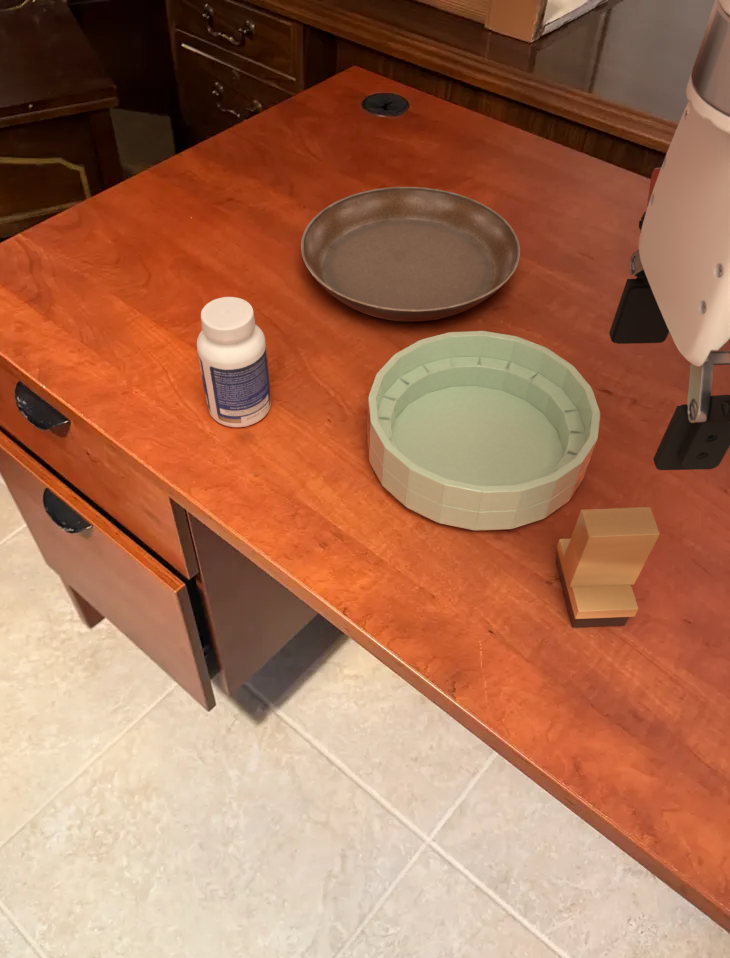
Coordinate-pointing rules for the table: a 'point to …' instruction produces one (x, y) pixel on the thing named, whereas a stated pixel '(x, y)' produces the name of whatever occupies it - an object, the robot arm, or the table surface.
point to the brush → (605, 564)
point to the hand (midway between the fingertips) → (658, 398)
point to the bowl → (480, 429)
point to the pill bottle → (233, 363)
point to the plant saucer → (410, 252)
